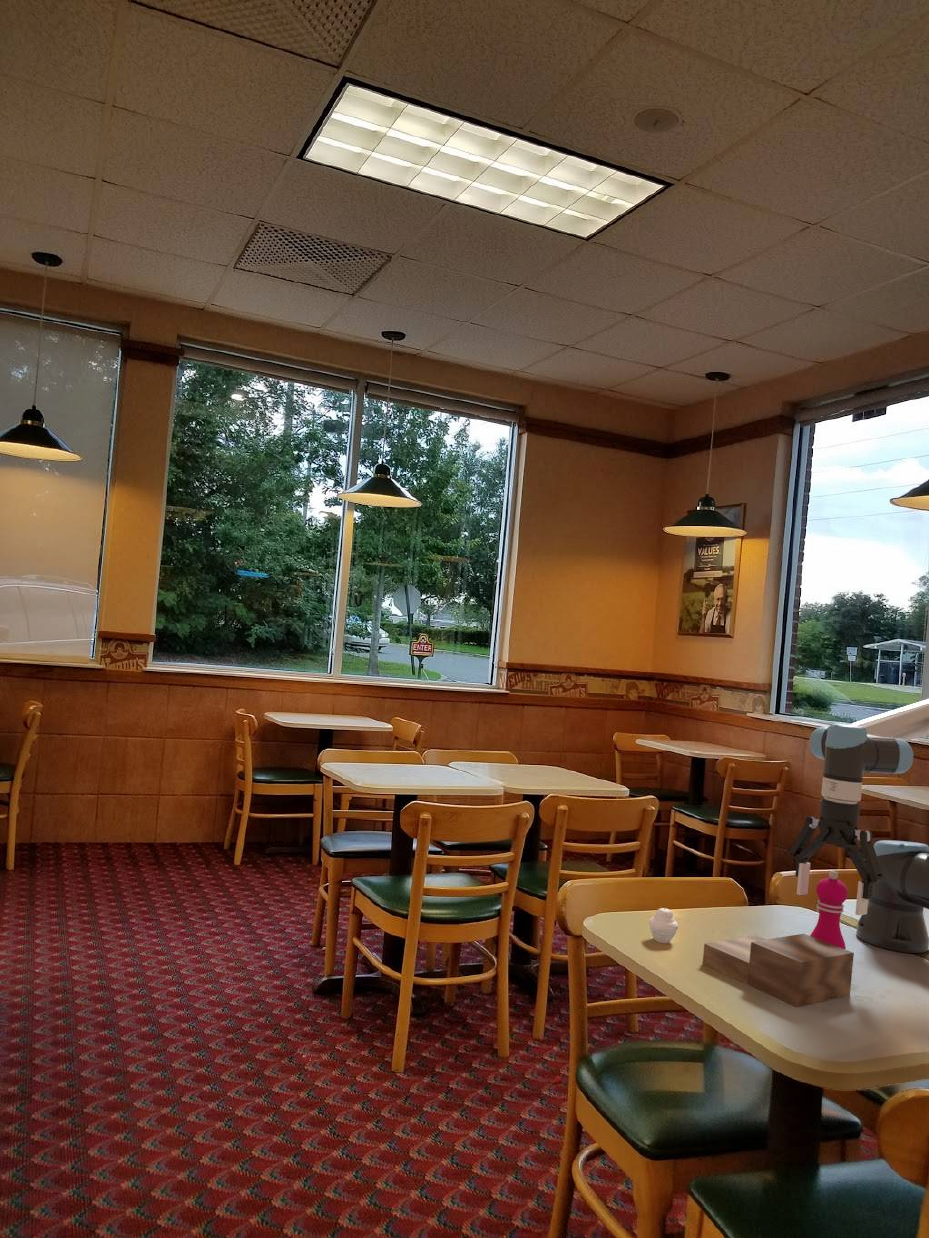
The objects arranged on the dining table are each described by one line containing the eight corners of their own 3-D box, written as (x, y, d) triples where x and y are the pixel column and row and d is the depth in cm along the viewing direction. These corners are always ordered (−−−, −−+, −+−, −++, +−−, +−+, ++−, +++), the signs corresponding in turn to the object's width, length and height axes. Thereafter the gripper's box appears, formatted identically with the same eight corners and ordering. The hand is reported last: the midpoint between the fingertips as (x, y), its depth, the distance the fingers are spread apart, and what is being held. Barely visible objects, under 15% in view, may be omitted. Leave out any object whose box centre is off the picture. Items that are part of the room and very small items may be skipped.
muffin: (682, 944, 193) (686, 911, 194) (661, 947, 190) (664, 913, 190) (662, 934, 199) (665, 902, 199) (641, 937, 196) (644, 904, 196)
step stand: (754, 954, 192) (758, 916, 192) (849, 995, 173) (853, 952, 173) (702, 963, 183) (706, 923, 183) (796, 1007, 164) (801, 962, 164)
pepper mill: (847, 978, 183) (856, 878, 183) (808, 972, 184) (818, 872, 184) (839, 966, 190) (848, 869, 190) (803, 960, 191) (812, 864, 191)
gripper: (777, 788, 196) (768, 887, 195) (887, 813, 175) (876, 925, 175) (799, 787, 200) (790, 885, 199) (909, 812, 179) (898, 921, 179)
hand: (830, 904), depth 187 cm, fingers open, 13 cm apart
